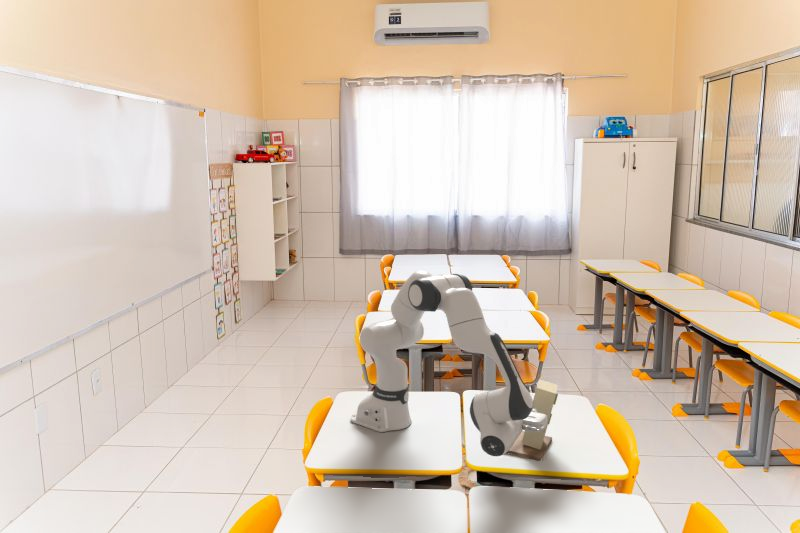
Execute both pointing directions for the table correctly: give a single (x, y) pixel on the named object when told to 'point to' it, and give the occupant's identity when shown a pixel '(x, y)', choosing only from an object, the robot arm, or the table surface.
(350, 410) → the table surface
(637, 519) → the table surface
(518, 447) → the walnut platform
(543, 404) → the toy refrigerator
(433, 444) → the table surface
